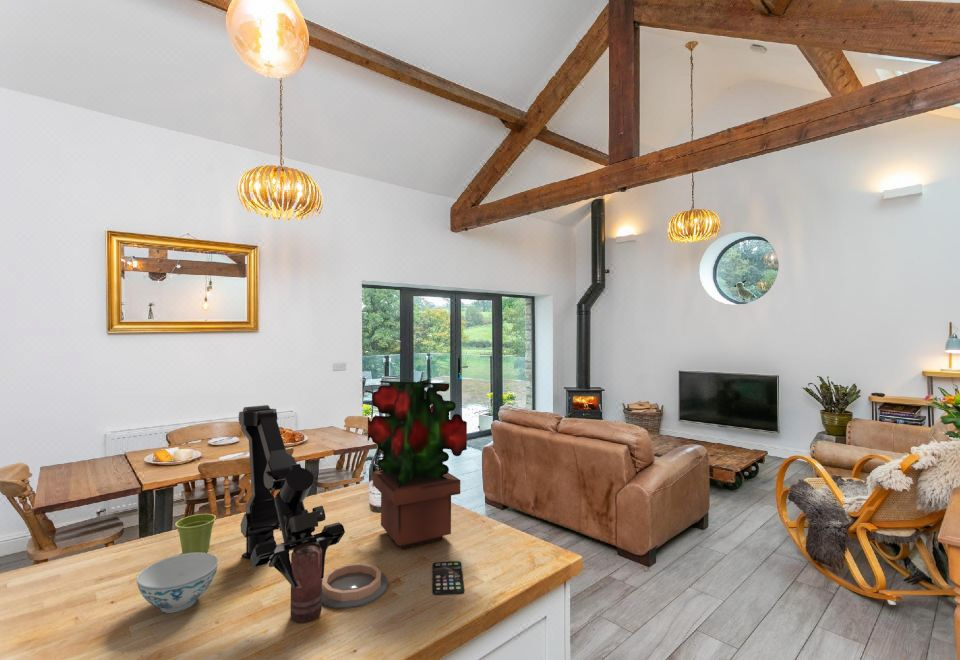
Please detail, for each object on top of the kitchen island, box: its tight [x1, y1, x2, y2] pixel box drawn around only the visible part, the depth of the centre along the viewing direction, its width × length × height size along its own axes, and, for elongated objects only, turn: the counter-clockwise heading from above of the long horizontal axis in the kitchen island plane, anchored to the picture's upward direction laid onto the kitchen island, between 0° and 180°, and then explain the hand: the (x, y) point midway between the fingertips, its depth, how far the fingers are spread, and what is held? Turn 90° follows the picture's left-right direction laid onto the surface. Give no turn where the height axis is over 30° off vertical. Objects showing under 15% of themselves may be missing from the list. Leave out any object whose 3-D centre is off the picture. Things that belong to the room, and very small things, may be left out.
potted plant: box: [367, 378, 468, 550], centre depth 137 cm, size 22×22×45 cm
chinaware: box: [136, 552, 219, 614], centre depth 103 cm, size 15×15×8 cm
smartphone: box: [431, 560, 465, 596], centre depth 114 cm, size 7×1×15 cm
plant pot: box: [174, 513, 217, 554], centre depth 126 cm, size 9×9×9 cm
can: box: [289, 543, 323, 624], centre depth 99 cm, size 6×6×14 cm
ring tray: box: [321, 562, 388, 609], centre depth 109 cm, size 16×16×3 cm
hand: (309, 583), depth 98 cm, fingers closed on can, 5 cm apart
